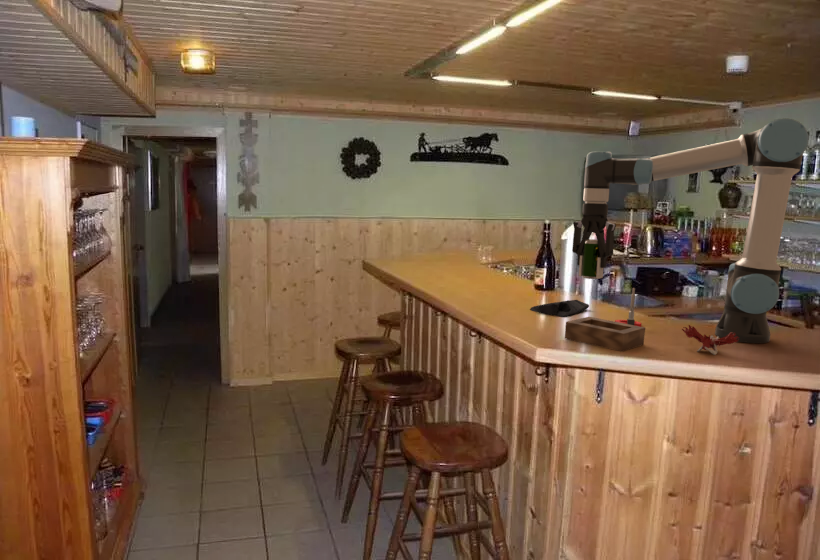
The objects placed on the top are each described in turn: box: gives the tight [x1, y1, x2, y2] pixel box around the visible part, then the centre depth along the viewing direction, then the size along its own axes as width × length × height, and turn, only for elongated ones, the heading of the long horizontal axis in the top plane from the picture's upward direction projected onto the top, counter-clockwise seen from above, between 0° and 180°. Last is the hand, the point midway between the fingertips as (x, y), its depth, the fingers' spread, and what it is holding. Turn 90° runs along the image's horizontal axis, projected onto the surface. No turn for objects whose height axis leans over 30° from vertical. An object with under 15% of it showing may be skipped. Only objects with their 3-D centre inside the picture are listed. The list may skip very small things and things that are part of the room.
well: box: [564, 316, 646, 352], centre depth 183 cm, size 18×13×5 cm
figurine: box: [681, 324, 739, 356], centre depth 176 cm, size 15×12×7 cm
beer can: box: [581, 238, 600, 280], centre depth 198 cm, size 5×5×12 cm
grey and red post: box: [614, 287, 642, 327], centre depth 208 cm, size 8×13×9 cm
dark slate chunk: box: [529, 299, 590, 318], centre depth 228 cm, size 15×22×5 cm
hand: (590, 276), depth 199 cm, fingers closed on beer can, 5 cm apart
